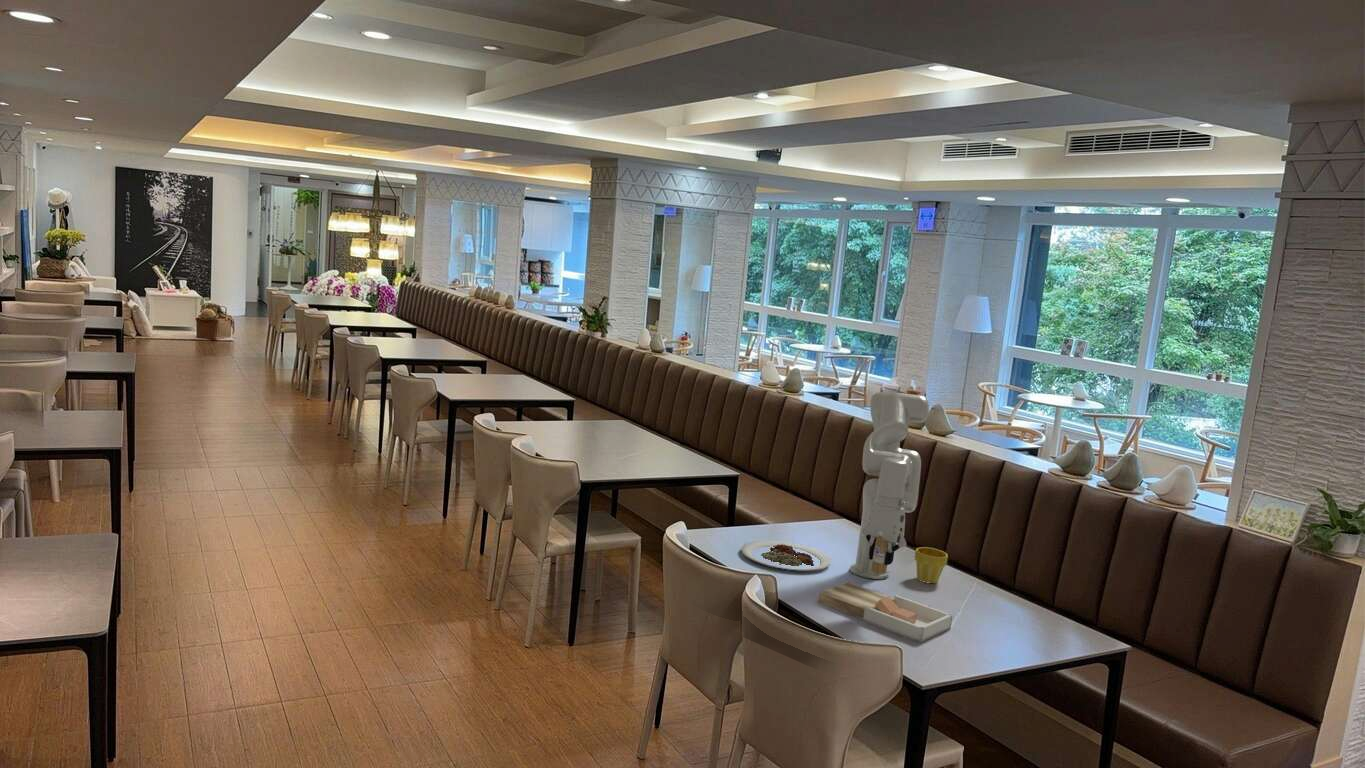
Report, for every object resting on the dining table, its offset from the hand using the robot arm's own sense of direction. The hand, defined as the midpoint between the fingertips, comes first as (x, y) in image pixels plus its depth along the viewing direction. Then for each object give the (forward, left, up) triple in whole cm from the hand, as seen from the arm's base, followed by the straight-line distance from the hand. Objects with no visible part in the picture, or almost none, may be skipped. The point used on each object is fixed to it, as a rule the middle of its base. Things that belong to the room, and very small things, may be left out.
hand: (880, 560), depth 274 cm
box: (+1, +11, -15) cm, 19 cm away
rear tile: (+1, +4, -13) cm, 14 cm away
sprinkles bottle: (0, 0, -4) cm, 4 cm away
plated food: (-16, -44, -16) cm, 49 cm away
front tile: (+1, +10, -12) cm, 16 cm away
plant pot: (-42, -5, -15) cm, 45 cm away
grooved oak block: (+1, -6, -15) cm, 16 cm away
